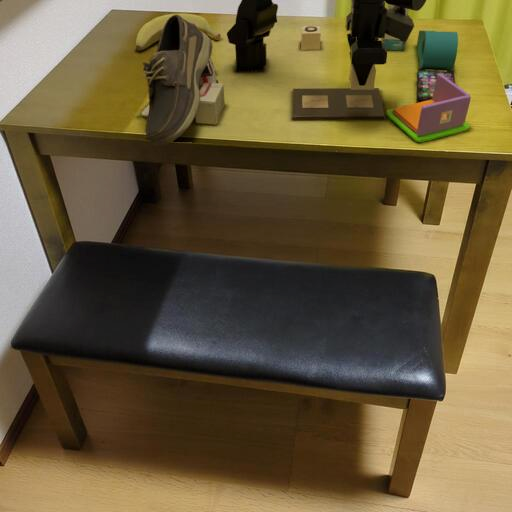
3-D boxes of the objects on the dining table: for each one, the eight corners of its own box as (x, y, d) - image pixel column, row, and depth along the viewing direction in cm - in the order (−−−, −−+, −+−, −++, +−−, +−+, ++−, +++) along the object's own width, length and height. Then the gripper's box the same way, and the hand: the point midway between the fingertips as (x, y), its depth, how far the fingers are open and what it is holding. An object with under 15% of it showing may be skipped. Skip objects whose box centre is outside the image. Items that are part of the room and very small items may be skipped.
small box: (203, 81, 118) (193, 100, 112) (223, 83, 117) (214, 101, 111) (205, 104, 121) (195, 123, 115) (225, 106, 120) (216, 125, 115)
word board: (292, 120, 115) (292, 116, 115) (293, 91, 124) (293, 88, 123) (384, 119, 114) (385, 115, 113) (378, 91, 123) (378, 87, 122)
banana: (144, 3, 146) (223, 13, 146) (146, 22, 151) (223, 32, 151) (132, 38, 139) (215, 48, 139) (135, 57, 144) (215, 67, 143)
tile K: (350, 89, 114) (352, 69, 111) (349, 79, 118) (350, 59, 115) (373, 89, 114) (376, 69, 111) (371, 79, 117) (373, 59, 114)
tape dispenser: (421, 74, 128) (426, 39, 123) (416, 46, 139) (421, 13, 134) (452, 75, 127) (459, 40, 122) (445, 47, 138) (451, 14, 133)
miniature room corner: (471, 129, 110) (480, 97, 105) (417, 144, 107) (424, 110, 102) (435, 101, 118) (441, 69, 113) (383, 113, 115) (388, 81, 110)
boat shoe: (151, 162, 110) (108, 128, 103) (179, 57, 125) (143, 20, 118) (193, 143, 104) (150, 105, 97) (217, 34, 119) (182, -5, 112)
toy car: (211, 63, 136) (208, 31, 131) (221, 99, 123) (218, 64, 118) (178, 66, 135) (174, 34, 130) (184, 102, 122) (180, 68, 117)
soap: (157, 119, 117) (156, 115, 116) (137, 117, 118) (136, 113, 117) (176, 97, 124) (176, 93, 123) (157, 95, 125) (156, 91, 124)
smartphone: (416, 99, 117) (417, 67, 128) (415, 103, 118) (416, 71, 129) (456, 102, 116) (454, 69, 127) (455, 106, 117) (453, 73, 127)
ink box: (403, 51, 137) (410, -1, 129) (382, 50, 138) (388, -2, 130) (403, 36, 144) (410, -14, 136) (383, 36, 144) (389, -14, 136)
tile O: (301, 49, 140) (301, 32, 137) (301, 42, 143) (301, 25, 140) (320, 49, 140) (320, 32, 137) (319, 42, 143) (320, 25, 140)
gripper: (422, 16, 97) (408, 102, 108) (407, -20, 111) (396, 59, 121) (355, 17, 98) (348, 102, 108) (348, -19, 112) (343, 59, 122)
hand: (361, 79), depth 115 cm, fingers closed on tile K, 4 cm apart
